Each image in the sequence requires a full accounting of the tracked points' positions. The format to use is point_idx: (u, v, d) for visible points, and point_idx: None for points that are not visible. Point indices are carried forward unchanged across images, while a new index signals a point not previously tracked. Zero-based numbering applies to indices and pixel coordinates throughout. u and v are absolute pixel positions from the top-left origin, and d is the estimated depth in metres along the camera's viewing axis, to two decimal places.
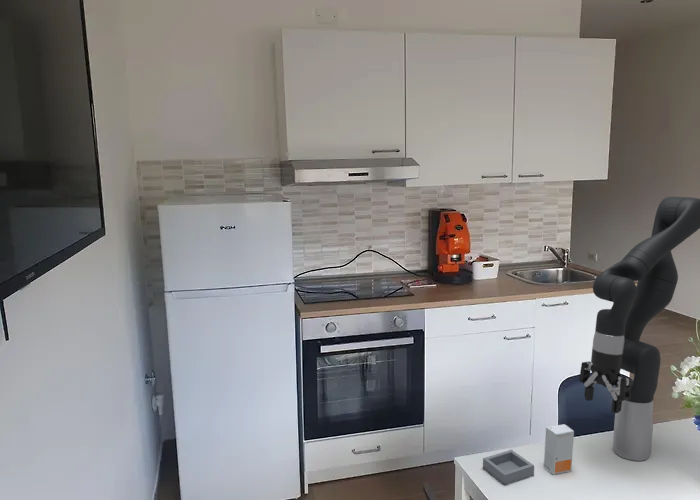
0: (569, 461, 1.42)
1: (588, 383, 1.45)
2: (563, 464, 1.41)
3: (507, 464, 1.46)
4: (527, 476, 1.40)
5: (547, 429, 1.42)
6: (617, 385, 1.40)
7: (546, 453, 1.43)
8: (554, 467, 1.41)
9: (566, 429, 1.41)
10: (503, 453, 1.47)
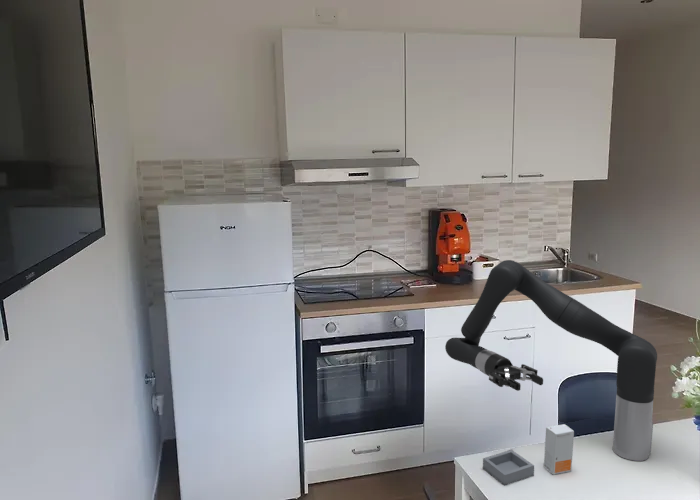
0: (569, 461, 1.42)
1: None
2: (563, 464, 1.41)
3: (507, 464, 1.46)
4: (527, 476, 1.40)
5: (547, 429, 1.42)
6: None
7: (546, 453, 1.43)
8: (554, 467, 1.41)
9: (566, 429, 1.41)
10: (503, 453, 1.47)
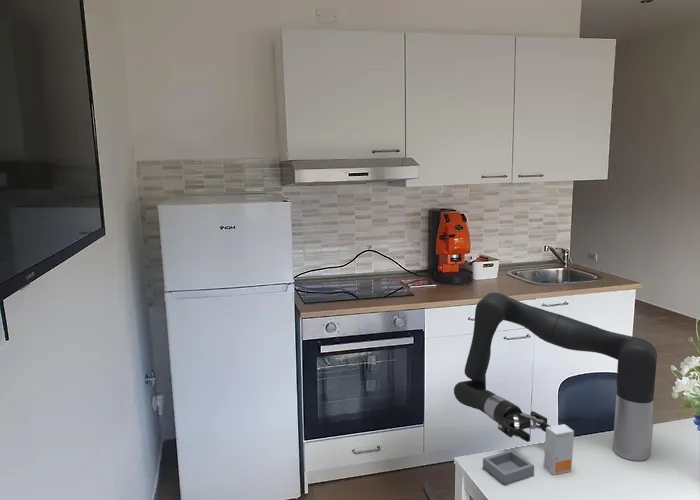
0: (569, 461, 1.42)
1: None
2: (563, 464, 1.41)
3: (507, 464, 1.46)
4: (527, 476, 1.40)
5: (547, 429, 1.42)
6: None
7: (546, 453, 1.43)
8: (554, 467, 1.41)
9: (566, 429, 1.41)
10: (503, 453, 1.47)
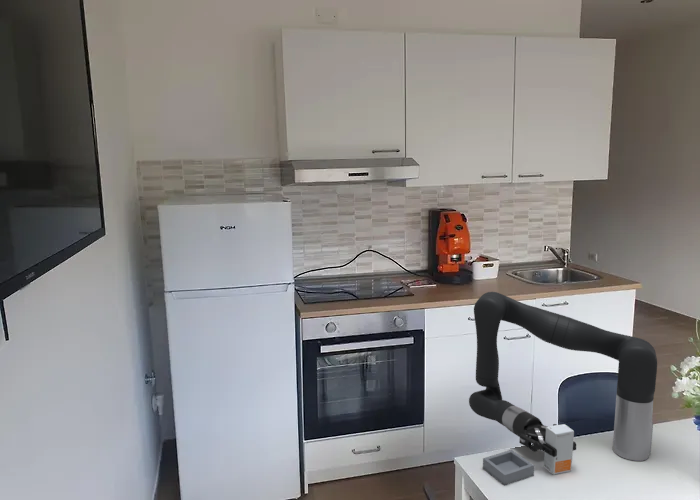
0: (569, 461, 1.42)
1: None
2: (563, 464, 1.41)
3: (507, 464, 1.46)
4: (527, 476, 1.40)
5: (547, 429, 1.42)
6: None
7: (546, 453, 1.43)
8: (554, 467, 1.41)
9: (566, 429, 1.41)
10: (503, 453, 1.47)
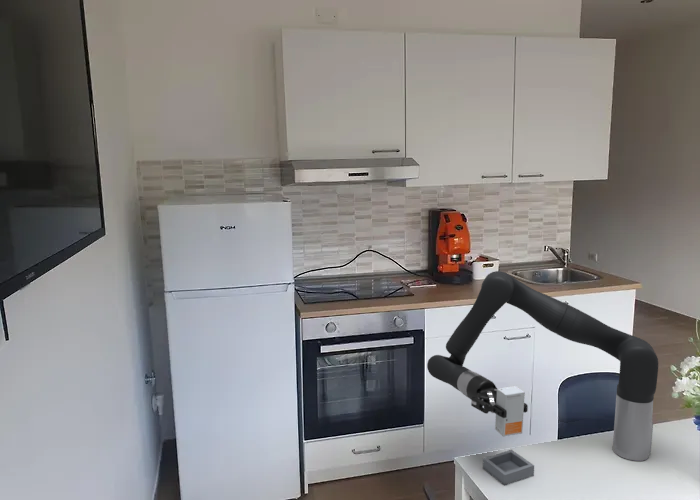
0: (520, 423, 1.39)
1: None
2: (514, 426, 1.39)
3: (507, 464, 1.46)
4: (527, 476, 1.40)
5: (498, 390, 1.39)
6: None
7: (497, 415, 1.41)
8: (504, 429, 1.38)
9: (517, 390, 1.39)
10: (503, 453, 1.47)
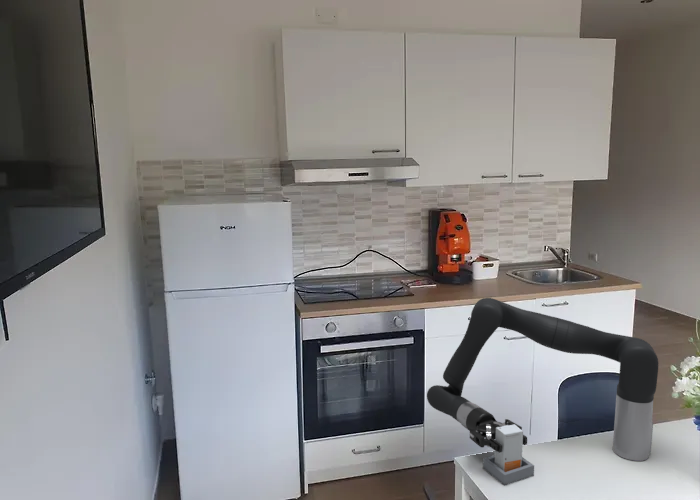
0: (519, 461, 1.41)
1: None
2: (513, 464, 1.41)
3: None
4: (527, 476, 1.40)
5: (497, 429, 1.41)
6: None
7: (496, 454, 1.42)
8: (503, 467, 1.40)
9: (516, 429, 1.41)
10: None
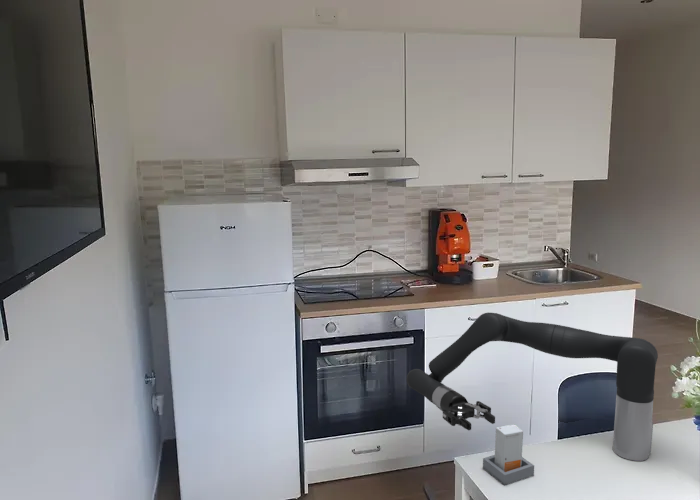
0: (519, 461, 1.41)
1: None
2: (513, 464, 1.41)
3: None
4: (527, 476, 1.40)
5: (497, 429, 1.41)
6: None
7: (496, 454, 1.42)
8: (503, 468, 1.40)
9: (516, 429, 1.41)
10: None
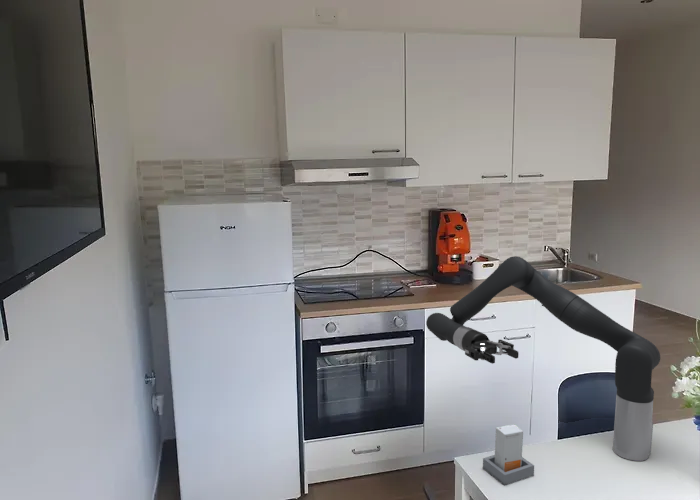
0: (519, 461, 1.41)
1: None
2: (513, 464, 1.41)
3: None
4: (527, 476, 1.40)
5: (497, 429, 1.41)
6: None
7: (496, 454, 1.42)
8: (503, 467, 1.40)
9: (516, 429, 1.41)
10: None
